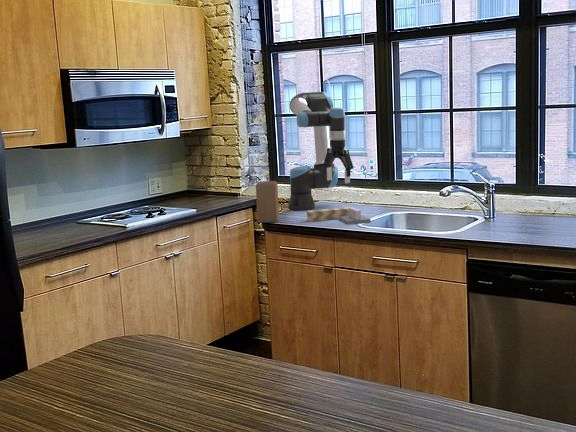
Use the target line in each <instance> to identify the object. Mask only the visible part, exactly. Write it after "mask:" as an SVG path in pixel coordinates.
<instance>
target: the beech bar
mask: <svg viewBox="0 0 576 432" xmlns="http://www.w3.org/2000/svg"><path fill="white" fill-rule="evenodd" d="M351 207H352V206H348V207H338V208H336V207H335V208H325V209H311V210H306V220H307V221H308V222H319V221H329V220H337V219H338V218H339V217H343V216H349V208H351ZM338 220H339V219H338Z"/></svg>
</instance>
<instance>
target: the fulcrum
mask: <svg viewBox="0 0 576 432" xmlns="http://www.w3.org/2000/svg"><path fill="white" fill-rule="evenodd" d="M350 207H351V208H349V216H343V217H339V219H338V220H339V221H341V222H343V223H345V224H346V225H352V223H355V224H364V223H371V221H372V220H371V218H369V217H367V216H365V215H363V214H362V213H361V211H362V210H361V209H358V208H355V206H354V207H352V206H350Z"/></svg>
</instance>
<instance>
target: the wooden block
mask: <svg viewBox="0 0 576 432" xmlns="http://www.w3.org/2000/svg"><path fill="white" fill-rule="evenodd" d="M278 187H279V185H278V182H277V181H276V180H269V181H267V180H262V181H258V182H257V183H256V184H255V194H256V195H255V196H256V213H257V214H256V219H257V222H258V223H260V224H265V223H267V224H269V223H270V224H271V223H276V222H278V220H279V218H280V217H279V213H280V212H279V191H278V190H279V189H278Z"/></svg>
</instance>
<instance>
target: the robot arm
mask: <svg viewBox="0 0 576 432" xmlns="http://www.w3.org/2000/svg"><path fill="white" fill-rule="evenodd" d="M333 100H334V99H333V97H332V95H331V93H330V92H327V91H315V92H314V91H313V92H311V91H310V92H301V93H300V92H299V93H298V94H296V95H294V96H293V97H292V98H291V99H290V101H289V110H290V111H291V112H292V114H294V115H296V124H297V127H298V128H313V131H314V132H313V133H314V134H313V135H314V151H315V162H314V164H313V167H312V166H311V165H301V166H295V167H293V168H291V169H290V171H289V179H290V180H289V183H290V185H289V186H290V188H289V189H290V195H289V199H288V203H287V209H288V210H290V211H311V210H315V208H316V203H315V200H314V198H313V195H312V190H318V189H331V188H332V189H333V188H335V187H336V186H337V183H338V180H339V179H338V178H339V168H338V166H335V162H334V161H335V160H336V159H339V160H340V161H341V163H342V165H343V167H344V168H345V169H344V184H350V183H351V170H353V169H354V168H355V167H354V164H353V161H352V159H351V155H350V149H345V147H346V114H345V113H346V111H345V108H344V107H334V101H333Z"/></svg>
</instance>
